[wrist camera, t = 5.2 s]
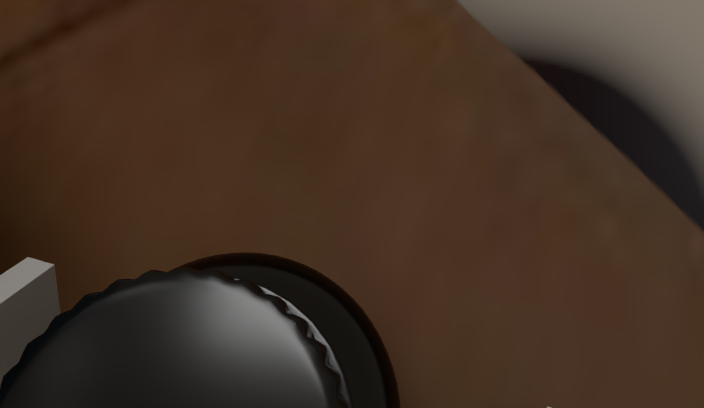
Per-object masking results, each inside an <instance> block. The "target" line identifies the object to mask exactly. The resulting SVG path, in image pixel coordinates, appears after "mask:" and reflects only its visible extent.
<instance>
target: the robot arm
mask: <svg viewBox="0 0 704 408" xmlns="http://www.w3.org/2000/svg"><path fill="white" fill-rule="evenodd" d="M57 315H60V306H59V298H58V289H57V281H56V273H55V265H54V264H51V263H47V262H44V261H40V260H37V259H33V258H30V257H27V258H26V259H24V260H23V261H21V262H20V263H18V264H17V265H15V266H13V267H12V268H10V269H9V270H7V271H6V272H4V273H3V274H1V275H0V385H1V382H2V379H3V376H4V375H5V374H6V373H7V372H8V371H9V370H10V369H11V368H12V367H14V366H15V365H16V364H17V363H18V362H19V360H20V358H21V356H22V353H23V351H24V349H25V347H26V345H27V344H28V343H29V342H31V341H32V340H33V339H35V338H36V337H38V336H40V335H42V334H43V333H44V332H45V331H46V329H47V328H48V326H49V324H50V323H51V321H52V320H53V319H54V317H55V316H57ZM547 408H550V407H547Z"/></svg>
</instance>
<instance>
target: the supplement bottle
mask: <svg viewBox="0 0 704 408" xmlns="http://www.w3.org/2000/svg"><path fill="white" fill-rule="evenodd" d="M0 408H400V400H399V394H398V388H397V382H396V378H395V374H394V371H393V367H392V364H391V361H390V358H389V356H388V353H387V350H386V348H385V346H384V344H383V342H382V339H381V337H380V335H379V334H378V332H377V330H376V329H375V327H374V325H373V323H372V322H371V321H370V319H369V318H368V316H367V315H366V314H365V312H364V311H363V310H362V308H361V307H360V306H359V305H358V304H357V303H356V302H355V300H354V299H353V298H352V297H351V296H350V295H349V294H348V293H346V292H345V291H344V290H343V289H342V288H341V287H340V286H338V285H337V284H336V283H335V282H333V281H332V280H331V279H329V278H328V277H326V276H324V275H323V274H321V273H320V272H318V271H316V270H314V269H312V268H310V267H308V266H306V265H304V264H301V263H298V262H296V261H293V260H290V259H287V258H283V257H279V256H275V255H268V254H262V253H228V254H221V255H214V256H210V257H206V258H201V259H198V260H195V261H192V262H189V263H186V264H184V265H181V266H179V267H177V268H174V269H172V270H170V271H168V272H164V271H158V270H150V271H148V272H146V273H144V274H142V275H141V276H140V277H138V278H136V279H119V280H117V281H115V282H114V283H112V284H111V285H110V286H109V287H108V288H107V289H105V290H104V291H103V292H97V293H92V294H88V295H85V296H84V297H83V298H82V299H81V300H80V301H79V302H78V303H77V304H76V306H75V307H74V308H73V309H72V310H70V311H67V312H64V313H62V314H60V315H57V316H55V317H54V319H53V320H52V321H51V323H50V324H49V326H48V328H47V329H46V331H45V332H44V333H43V334H42V335H40V336H38V337H36V338H35V339H33V340H32V341H31V342H29V343H28V344H27V345H26V347H25V349H24V351H23V353H22V356H21V358H20V360H19V362H18V363H17V364H16V365H15V366H14V367H12V368H11V369H10V370H9V371H8V372H7V373H6V374H5V375H4V376H3V379H2V382H1V385H0Z"/></svg>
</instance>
